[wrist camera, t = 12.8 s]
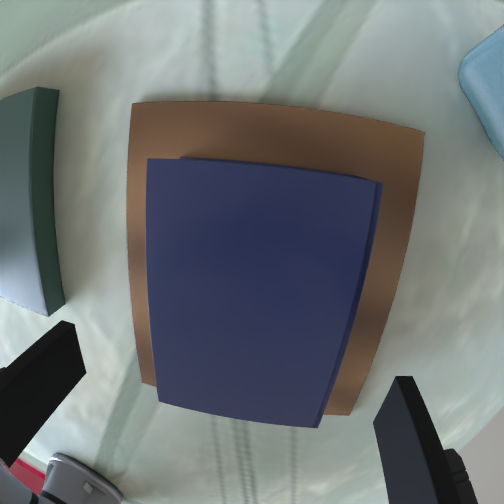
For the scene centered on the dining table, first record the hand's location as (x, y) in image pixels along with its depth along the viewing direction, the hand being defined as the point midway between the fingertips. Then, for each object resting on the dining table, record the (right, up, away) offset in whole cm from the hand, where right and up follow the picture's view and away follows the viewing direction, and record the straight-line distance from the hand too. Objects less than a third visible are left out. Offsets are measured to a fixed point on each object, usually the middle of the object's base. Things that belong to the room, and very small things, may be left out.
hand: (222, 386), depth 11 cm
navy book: (+1, +3, +8) cm, 9 cm away
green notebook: (-21, +10, +10) cm, 25 cm away
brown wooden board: (+2, +3, +9) cm, 9 cm away
